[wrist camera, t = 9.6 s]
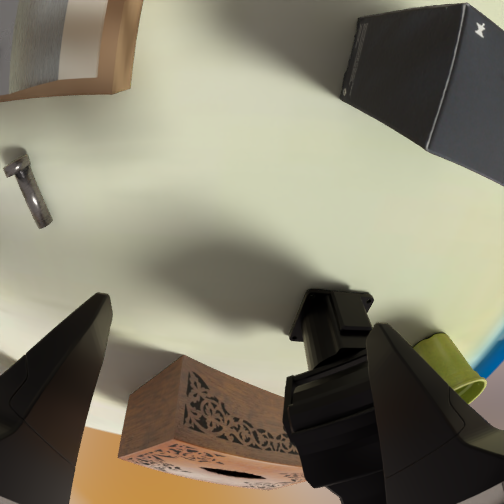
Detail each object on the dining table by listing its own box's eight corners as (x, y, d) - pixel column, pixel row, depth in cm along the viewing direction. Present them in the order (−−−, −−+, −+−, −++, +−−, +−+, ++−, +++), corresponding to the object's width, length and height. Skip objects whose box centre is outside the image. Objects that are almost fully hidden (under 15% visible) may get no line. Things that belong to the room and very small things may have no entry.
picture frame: (130, 88, 16) (110, 95, 13) (-5, 97, 14) (-32, 108, 12) (156, -53, 10) (141, -70, 8) (9, -21, 9) (-18, -23, 6)
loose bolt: (58, 216, 21) (45, 231, 19) (40, 222, 21) (27, 236, 19) (32, 151, 18) (15, 161, 16) (14, 160, 18) (-2, 171, 16)
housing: (80, -47, 8) (29, -68, 4) (58, 80, 12) (-1, 97, 8) (15, -27, 7) (-40, -33, 3) (-2, 87, 12) (-59, 108, 7)
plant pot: (426, 318, 29) (456, 382, 22) (471, 325, 31) (499, 378, 24) (381, 368, 34) (399, 428, 27) (429, 369, 36) (448, 420, 29)
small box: (334, 105, 17) (419, 158, 9) (356, 14, 14) (461, -10, 5) (457, 150, 19) (552, 220, 10) (479, 75, 15) (587, 116, 6)
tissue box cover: (129, 393, 37) (117, 457, 29) (183, 352, 31) (173, 438, 23) (265, 440, 47) (268, 490, 39) (331, 412, 41) (341, 470, 33)
